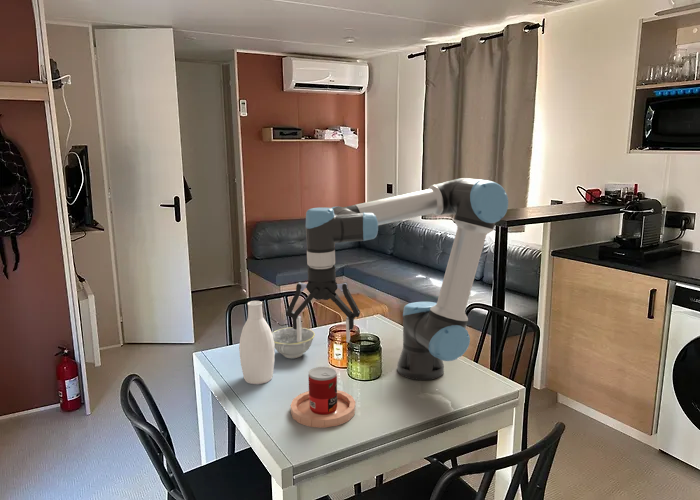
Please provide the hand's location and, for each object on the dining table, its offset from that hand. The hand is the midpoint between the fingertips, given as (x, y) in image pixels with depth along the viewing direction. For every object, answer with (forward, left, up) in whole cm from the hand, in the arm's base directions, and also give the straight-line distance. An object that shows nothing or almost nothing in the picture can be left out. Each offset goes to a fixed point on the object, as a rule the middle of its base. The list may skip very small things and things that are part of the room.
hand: (323, 340), depth 148 cm
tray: (0, +1, -21) cm, 21 cm away
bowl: (+17, -38, -21) cm, 47 cm away
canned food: (0, +1, -20) cm, 20 cm away
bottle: (+24, -18, -21) cm, 37 cm away
